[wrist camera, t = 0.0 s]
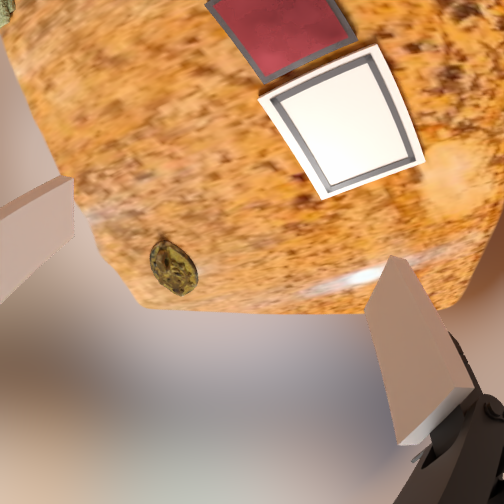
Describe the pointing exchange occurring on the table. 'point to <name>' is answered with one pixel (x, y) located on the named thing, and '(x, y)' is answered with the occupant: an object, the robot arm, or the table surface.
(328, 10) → the ink pad
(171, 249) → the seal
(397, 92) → the board
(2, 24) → the washcloth
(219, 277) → the table surface
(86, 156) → the table surface
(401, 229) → the table surface
